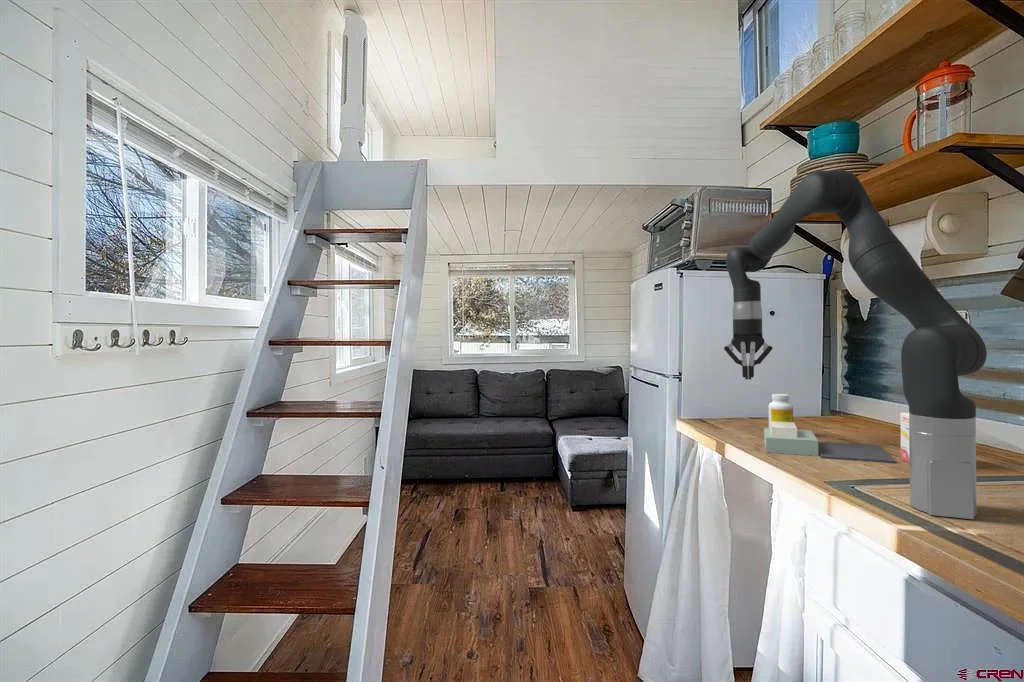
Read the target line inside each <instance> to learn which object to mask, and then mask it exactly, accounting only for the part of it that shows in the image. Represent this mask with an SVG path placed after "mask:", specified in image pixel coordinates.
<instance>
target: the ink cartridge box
mask: <svg viewBox="0 0 1024 682" xmlns="http://www.w3.org/2000/svg"><path fill="white" fill-rule="evenodd" d="M899 415H900V417H899V418H900V424H899V425H900V460H902V461H904V462H907V463H909V464H910V459H909V412H900V413H899Z"/></svg>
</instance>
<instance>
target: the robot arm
mask: <svg viewBox="0 0 1024 682" xmlns="http://www.w3.org/2000/svg"><path fill="white" fill-rule="evenodd" d="M812 214H815V215H816V214H818V215H819V214H834V215H836V216H837V218H839V220H840V221H842V223H843V224H844V226H845V227H846V229H847V231H848V235H849V240H848V249H847V250H848V251H847V253H848V254H847V255H848V261H849V264H850V266H851V267H852V269H853V270H854V272H855V274H856V275H857V276H858V278H859V279H860V282H862V284H863V285H864V287H866V289H868V291H870V293H872V294H873V295H874V296H875V297H877V298H878V299H880V300H881V301H882V302H884V303H885V304H886V305H888V306H890V307H891V308H893V309H894V310H896V311H897V312H898V313H900V314H901V315H902V316H903V317H905V318H906V320H907V321H908V322H910V324H911V325H912V326H913V328H914V329H913V330H912V331H911V332H909V333H908V334H907V335H906V337H905V338H904V340H903V343H902V346H901V353H900V361H901V363H900V364H901V366H900V367H901V379H902V391H903V395H904V398H905V400H906V402H907V404H908V413H909V459H910V463H909V505H910V506H911V507H913V508H914V509H916V510H919V511H921V512H924V513H927V514H928V516H929V515H930V516H938V517H947V518H956V519H957V518H958V519H967V520H975V517H976V516H977V514H978V513H977V512H978V510H977V507H978V506H977V502H978V500H977V498H978V497H977V441H976V440H977V428H976V427H977V421H976V419H977V417H976V416H977V409H976V408H977V406H976V403H975V401H974V400H973V399H971V398H969V397H967V396H965V395H964V394H963V393H962V392H961V390H960V385H959V383H960V382H959V377H961V376H967V375H971V374H974V373H976V372H979V370H981V369H982V368H983V366H984V365H985V362H986V360H987V357H988V356H987V355H988V353H987V347H986V344H985V342H984V340H983V338H982V336H981V335H980V334H979V332H978V331H977V330H975V328H974V327H973V326H971V324H970V323H969V322H968V321H967V320H966V319H965V318H964V317H963V316H962V315H961V314H960V313H959V312H958V311H957V310H956V309H955V308H954V307H953V305H951V303H949V301H947V300H946V299H945V297H944V296H943V295H942V294H941V293H940V292H939V290H938V288H937V287H936V286H935V285H934V283H933V282H932V280H930V278H929V277H928V276H927V275H926V273H925V272H924V271H923V269H922V268H921V267H920V265H919V264H918V263H917V262H916V260H915V259H914V257H913V255H912V254H911V253H910V252H909V250H908V249H907V247H906V246H905V244H903V242H901V240H900V239H899V238H898V237H897V236H896V234H895V233H894V232H893V230H892V229H891V227H890V226H889V225H888V224H887V222H886V221H885V219H884V218H883V217H882V215H881V214H880V213H879V212H878V210H877V208H876V206H875V204H874V203H873V202H872V200H871V198H870V196H869V195H868V193H867V191H866V189H865V188H864V186H863V184H862V182H861V181H860V179H859V178H858V177H857V176H856V175H855V173H853V172H851V171H848V170H847V169H846V170H844V169H837V170H836V169H835V170H834V169H833V170H832V169H831V170H830V169H829V170H816V171H813V172H810V173H809V174H807V175H806V176H804V177H803V178H802V179H801V180H800V182H799V183H798V184H797V185H796V186H795V188H794V189H793V190H792V191H791V193H790V195H789V196H788V197H787V199H786V200H784V202H783V204H782V205H781V207H780V208H779V209H778V210H777V212H776V213H775V214H774V216H773V217H772V218H771V219H770V220H769V221H768V222H767V223H766V224H765V225H764V226H763V227H761V229H759V230H758V231H757V232H756V233H755V234H754V235H753V236H752V237H751V238H750V239H749V243H748V246H734V247H732V248H730V250H729V251H728V252H727V255H726V258H725V264H726V266H725V267H726V269H727V272H728V274H729V279H730V281H731V285H732V291H733V293H732V295H733V307H732V339H731V342H730V343H729V344H727V345H725V346H724V347H723V350H724V351H725V352H726V353H727V354H728V356H729V357H730V358H731V360H733V361H734V363H735V364H737V365H740V366H741V367H742V370H741V371H742V374H741V376H742V377H743V378H745V379H744V380H752V378H754V376H755V370H754V369H755V366H756V365H760V364H761V363H762V362H763V361H764V360H765V359H766V357H767V356H768V355H769V354H770V353H771V351H772V350H773V346H772V345H769V344H768V343H767V342H765V339H764V337H763V308H762V301H761V300H762V297H761V294H762V293H761V292H762V291H761V289H762V288H761V287H762V286H761V283H760V282H759V281H758V280H754V279H752V278H751V279H750V278H749V277H748V275H747V273H755V272H756V273H757V272H759V271H761V270H763V269H764V268H766V267H767V265H768V263H769V262H770V261H771V260H772V258H773V255H774V254H775V253H777V252H778V251H779V250H780V249H782V248H783V247H784V246H785V245H787V244H788V243H789V241H790V240H791V239H792V237H793V235H794V232H795V226H796V225H797V223H798V222H800V221H802V220H803V219H805V218H806V217H808V216H810V215H812ZM761 348H762V353H761V354H760V355H759V356H758V358H757V359H755V355H756V354H757V353H758V351H760V349H761ZM734 349H736V351H737V352H738V353H739V354H741V355H740V356H741V359H740V358H739V357H738V356H737V355H736V354H735V353H734V352H733V351H734ZM747 354H749V359H748V358H747ZM747 362H748V363H747Z"/></svg>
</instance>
